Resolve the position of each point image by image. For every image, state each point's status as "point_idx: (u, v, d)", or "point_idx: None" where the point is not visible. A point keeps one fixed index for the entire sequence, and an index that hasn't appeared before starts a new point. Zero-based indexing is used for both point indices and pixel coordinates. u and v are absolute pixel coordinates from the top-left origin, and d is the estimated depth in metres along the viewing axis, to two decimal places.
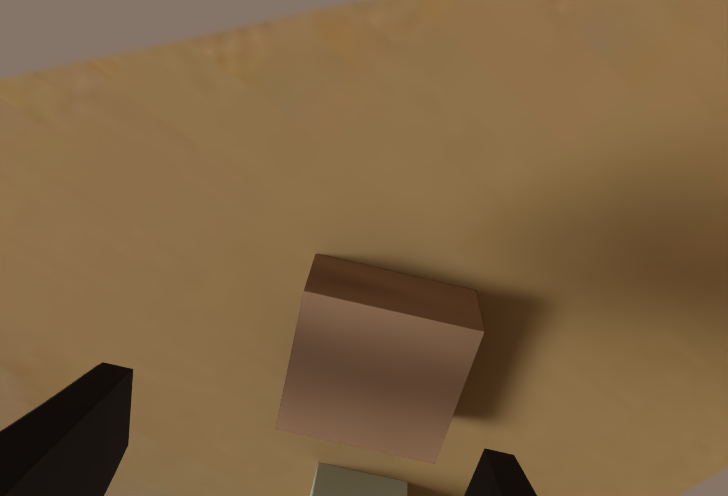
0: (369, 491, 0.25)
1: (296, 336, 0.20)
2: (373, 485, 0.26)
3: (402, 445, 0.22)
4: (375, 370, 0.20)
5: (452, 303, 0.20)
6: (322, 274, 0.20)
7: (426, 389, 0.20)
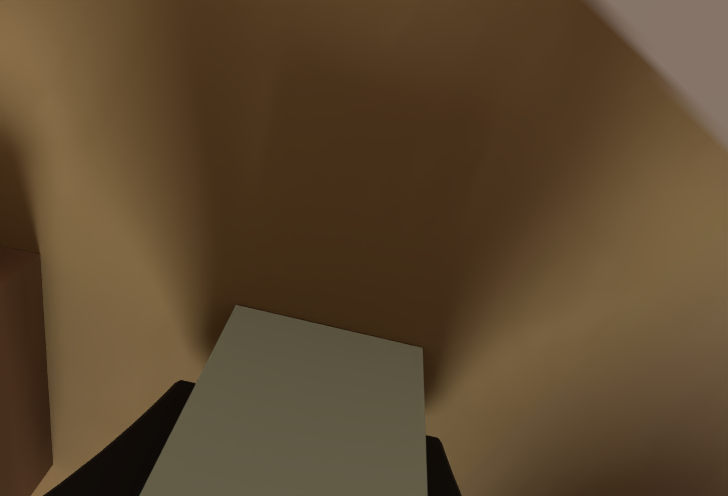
0: None
1: None
2: None
3: None
4: None
5: None
6: None
7: None
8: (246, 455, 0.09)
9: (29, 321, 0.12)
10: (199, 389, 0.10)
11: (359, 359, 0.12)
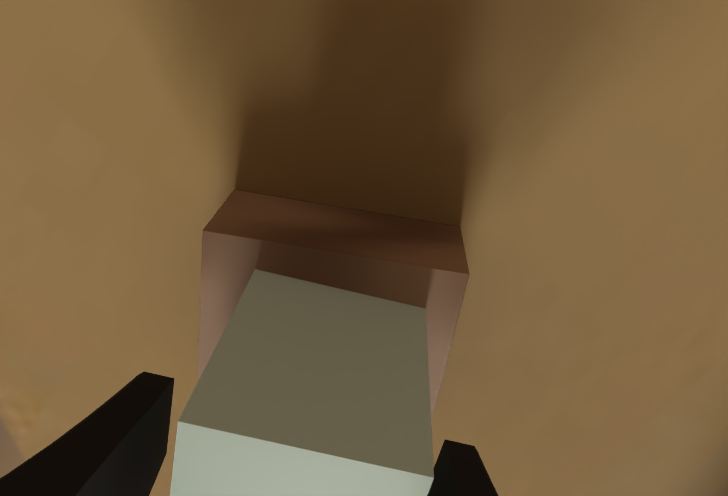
0: None
1: None
2: None
3: (432, 321, 0.14)
4: None
5: None
6: None
7: None
8: (271, 389, 0.10)
9: None
10: (226, 336, 0.11)
11: (368, 316, 0.13)
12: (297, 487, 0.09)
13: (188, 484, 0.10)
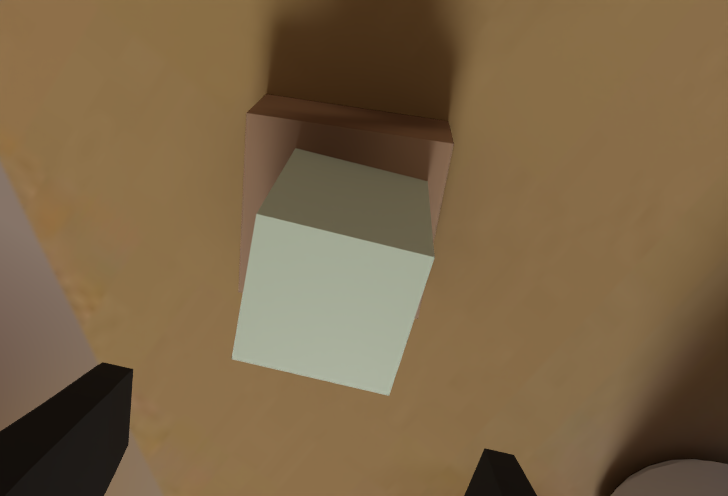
0: None
1: None
2: None
3: None
4: None
5: None
6: None
7: None
8: (317, 206, 0.14)
9: None
10: (281, 179, 0.15)
11: (384, 180, 0.17)
12: (337, 268, 0.13)
13: (260, 266, 0.13)
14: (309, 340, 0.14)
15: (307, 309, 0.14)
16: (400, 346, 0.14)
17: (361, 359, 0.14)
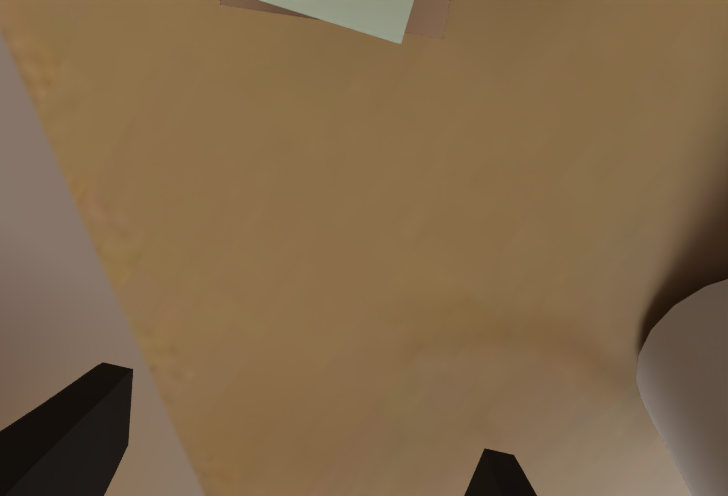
0: None
1: (287, 12, 0.16)
2: None
3: None
4: None
5: None
6: None
7: None
8: None
9: None
10: None
11: None
12: None
13: None
14: None
15: None
16: None
17: None
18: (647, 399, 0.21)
